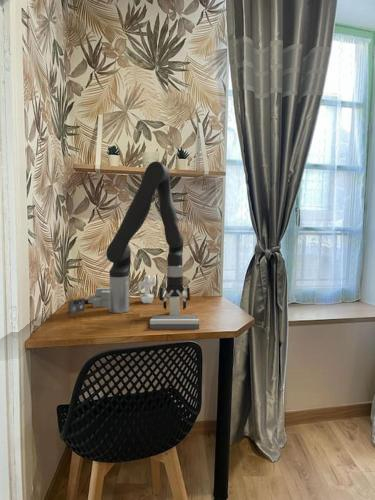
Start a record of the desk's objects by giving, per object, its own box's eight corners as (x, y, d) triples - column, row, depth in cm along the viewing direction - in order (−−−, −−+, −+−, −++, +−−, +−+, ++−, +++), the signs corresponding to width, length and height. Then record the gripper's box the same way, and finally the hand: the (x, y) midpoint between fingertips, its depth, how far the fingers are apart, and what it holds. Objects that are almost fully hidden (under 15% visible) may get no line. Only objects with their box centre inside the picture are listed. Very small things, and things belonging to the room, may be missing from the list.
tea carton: (169, 317, 142) (169, 297, 142) (169, 312, 149) (169, 294, 149) (179, 317, 142) (179, 297, 142) (179, 312, 149) (179, 294, 149)
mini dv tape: (82, 310, 153) (82, 298, 152) (84, 310, 152) (84, 298, 151) (68, 313, 146) (68, 301, 145) (70, 314, 145) (70, 301, 144)
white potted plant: (138, 300, 172) (138, 274, 171) (155, 300, 173) (155, 273, 172) (138, 304, 165) (138, 276, 164) (156, 303, 166) (156, 275, 165)
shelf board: (150, 328, 126) (150, 320, 125) (152, 319, 137) (152, 311, 137) (199, 328, 126) (199, 320, 126) (197, 319, 138) (197, 311, 138)
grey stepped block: (89, 302, 169) (89, 287, 169) (112, 301, 170) (112, 287, 170) (84, 307, 157) (84, 292, 157) (108, 307, 158) (108, 292, 158)
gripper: (159, 276, 140) (159, 311, 142) (190, 276, 141) (190, 311, 142) (160, 273, 148) (159, 307, 149) (189, 273, 148) (189, 307, 150)
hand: (174, 309), depth 146 cm, fingers open, 8 cm apart
